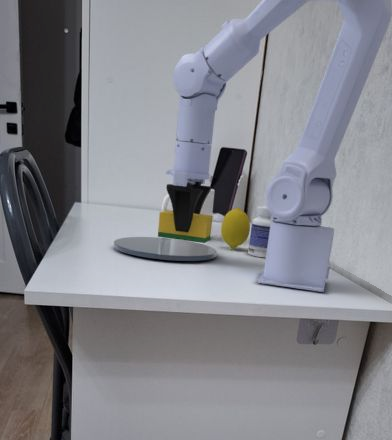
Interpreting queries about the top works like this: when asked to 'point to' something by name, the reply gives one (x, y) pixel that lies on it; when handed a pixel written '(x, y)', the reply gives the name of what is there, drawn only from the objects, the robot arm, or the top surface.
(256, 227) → the pill bottle
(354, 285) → the top surface
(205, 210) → the cup
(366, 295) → the top surface
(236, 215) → the lemon
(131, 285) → the top surface
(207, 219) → the sponge
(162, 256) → the plate
